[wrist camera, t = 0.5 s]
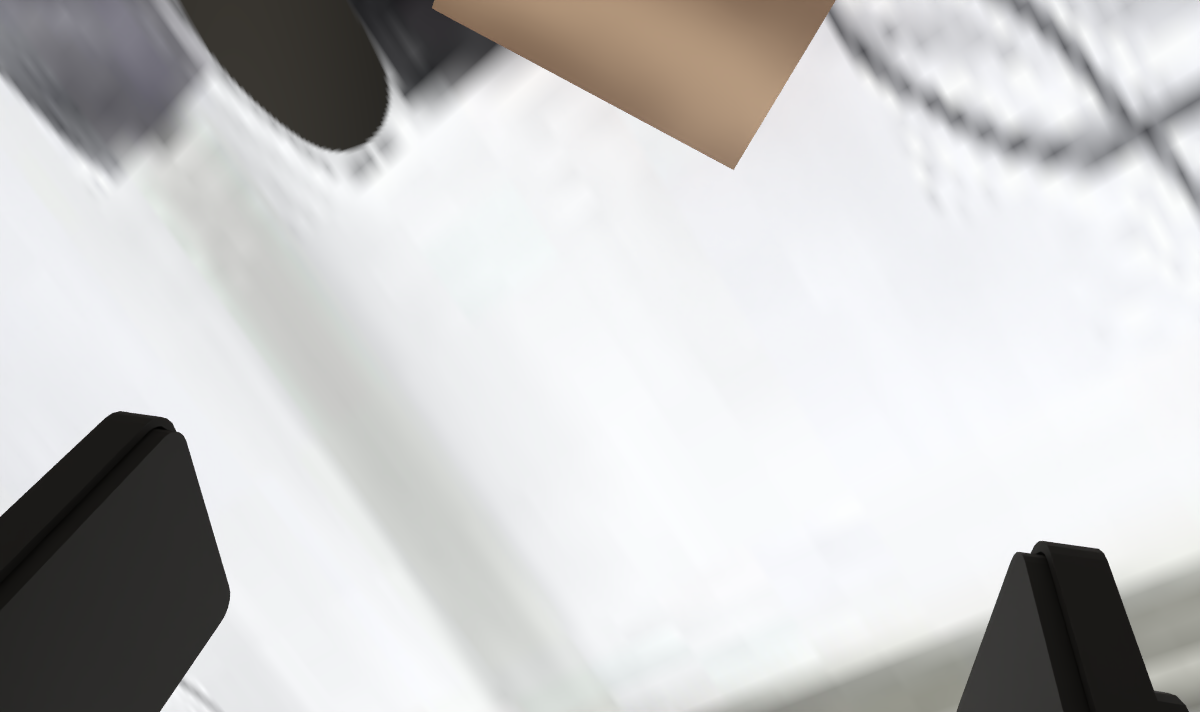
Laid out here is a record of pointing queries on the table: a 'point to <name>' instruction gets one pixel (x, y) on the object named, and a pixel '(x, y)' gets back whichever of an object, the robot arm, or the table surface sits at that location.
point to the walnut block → (662, 56)
